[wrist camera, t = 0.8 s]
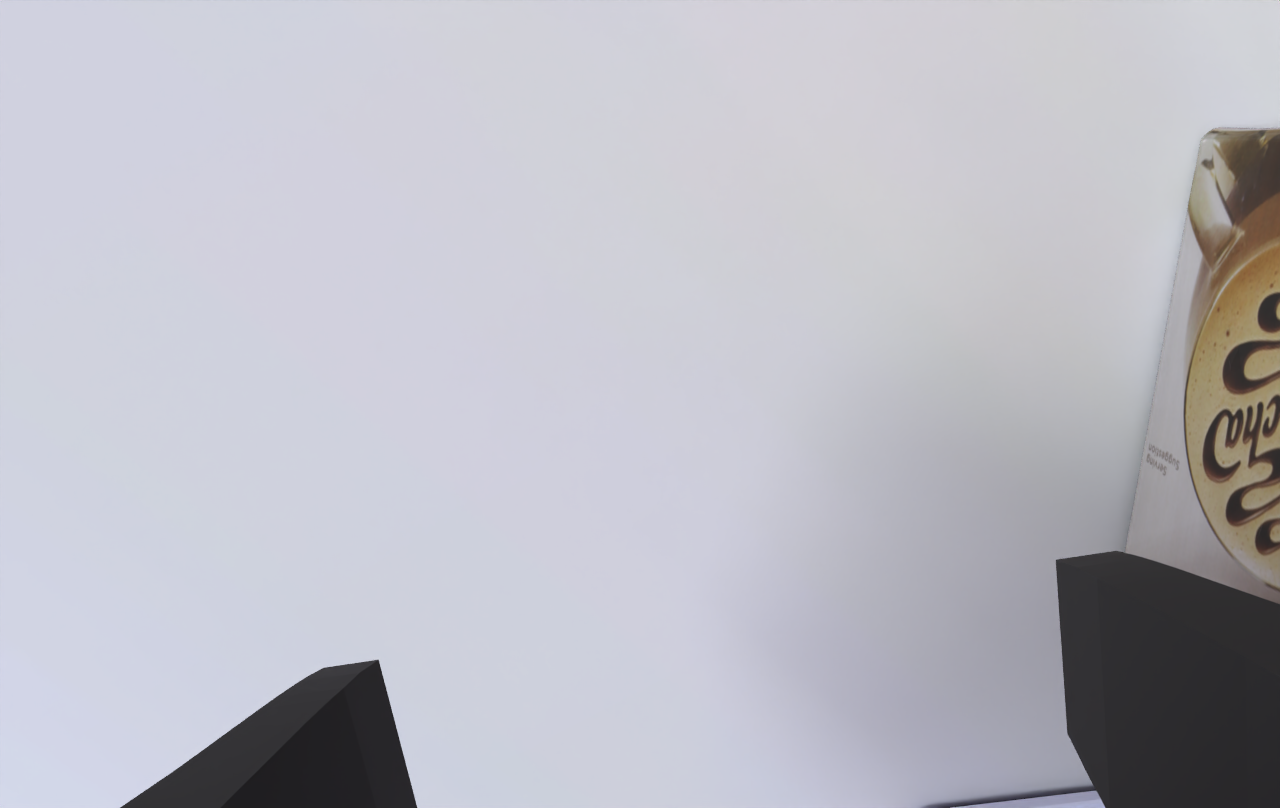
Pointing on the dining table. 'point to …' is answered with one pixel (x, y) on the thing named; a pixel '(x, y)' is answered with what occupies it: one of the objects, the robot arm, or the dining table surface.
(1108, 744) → the robot arm
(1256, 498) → the coffee box
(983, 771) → the dining table surface
